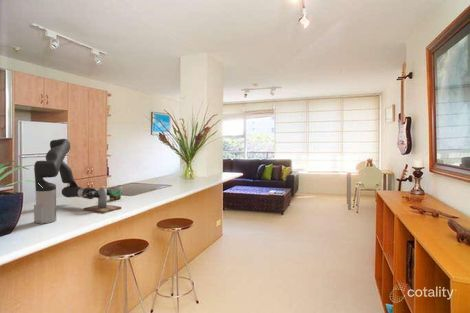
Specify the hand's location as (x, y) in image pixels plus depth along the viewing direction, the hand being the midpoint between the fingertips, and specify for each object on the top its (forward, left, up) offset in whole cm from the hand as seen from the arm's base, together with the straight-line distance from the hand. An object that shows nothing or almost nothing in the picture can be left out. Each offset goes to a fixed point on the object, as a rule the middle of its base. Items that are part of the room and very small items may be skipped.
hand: (104, 195), depth 179 cm
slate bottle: (0, +2, -8) cm, 9 cm away
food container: (+27, +18, -10) cm, 34 cm away
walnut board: (0, +2, -10) cm, 10 cm away
